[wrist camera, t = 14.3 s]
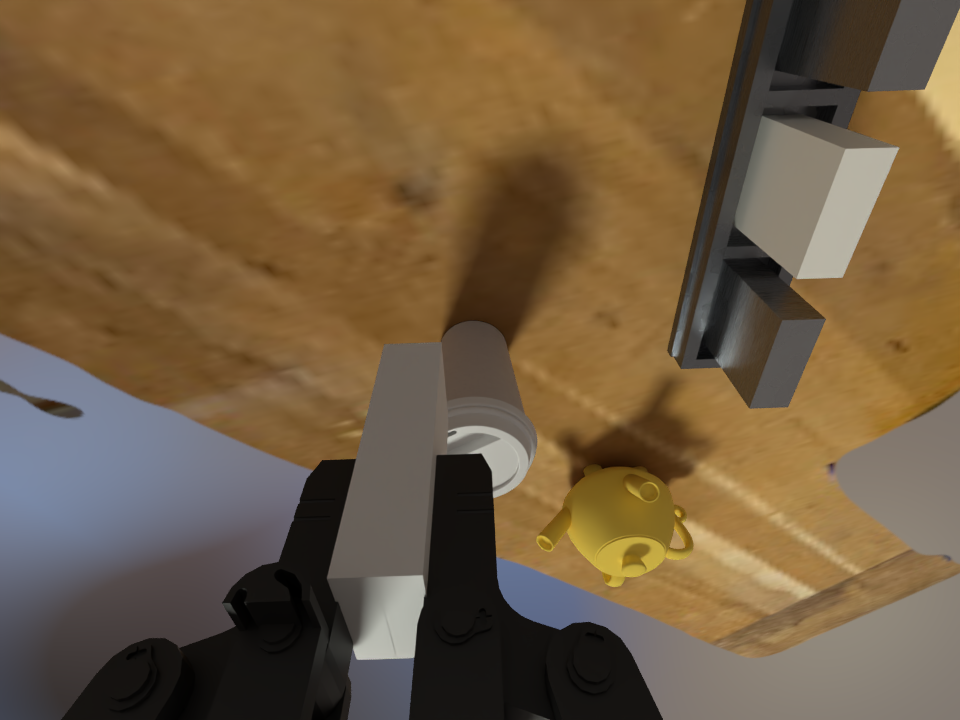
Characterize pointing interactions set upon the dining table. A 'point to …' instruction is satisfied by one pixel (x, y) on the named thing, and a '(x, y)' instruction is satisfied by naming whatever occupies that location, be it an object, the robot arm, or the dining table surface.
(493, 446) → the coffee cup
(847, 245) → the panel
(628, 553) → the teapot
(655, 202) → the dining table surface
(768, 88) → the rack
